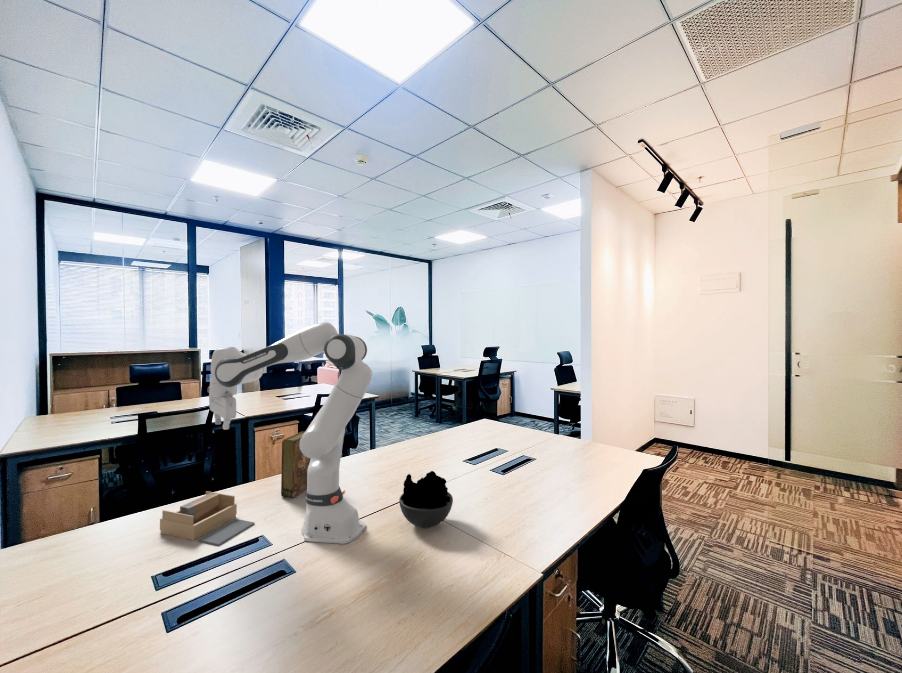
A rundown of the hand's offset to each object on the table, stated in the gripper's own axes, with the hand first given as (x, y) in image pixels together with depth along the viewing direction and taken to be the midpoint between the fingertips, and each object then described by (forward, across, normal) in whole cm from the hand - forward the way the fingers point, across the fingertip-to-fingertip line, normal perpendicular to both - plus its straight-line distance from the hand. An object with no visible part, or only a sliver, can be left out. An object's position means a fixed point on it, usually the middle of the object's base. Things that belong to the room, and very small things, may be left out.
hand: (221, 426), depth 140 cm
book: (+35, +4, -33) cm, 48 cm away
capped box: (+36, +1, +5) cm, 36 cm away
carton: (+36, +1, +5) cm, 36 cm away
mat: (+35, -12, 0) cm, 37 cm away
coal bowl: (+33, -58, -53) cm, 85 cm away
